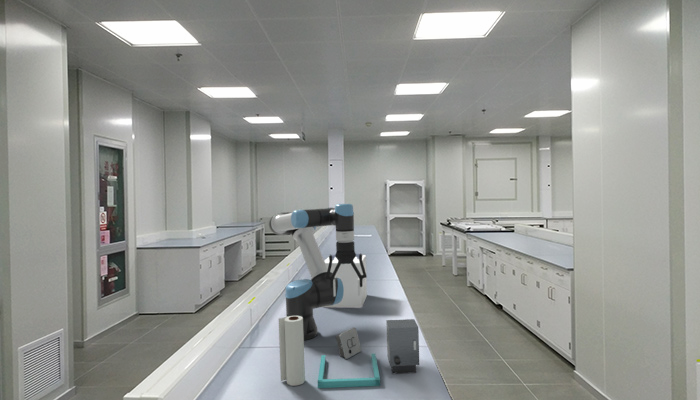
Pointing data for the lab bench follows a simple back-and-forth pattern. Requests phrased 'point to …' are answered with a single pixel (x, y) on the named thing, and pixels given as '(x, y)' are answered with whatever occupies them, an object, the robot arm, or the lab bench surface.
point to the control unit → (403, 345)
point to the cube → (350, 283)
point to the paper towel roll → (292, 350)
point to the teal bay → (350, 381)
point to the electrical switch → (348, 343)
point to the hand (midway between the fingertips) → (346, 295)
